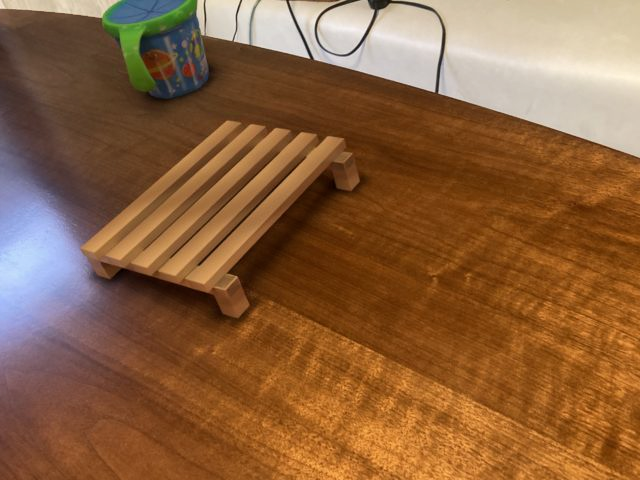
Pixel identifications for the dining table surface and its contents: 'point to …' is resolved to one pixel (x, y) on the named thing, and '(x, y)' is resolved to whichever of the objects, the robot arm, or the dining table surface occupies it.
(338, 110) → the dining table surface
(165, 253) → the rack
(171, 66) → the snack cup
